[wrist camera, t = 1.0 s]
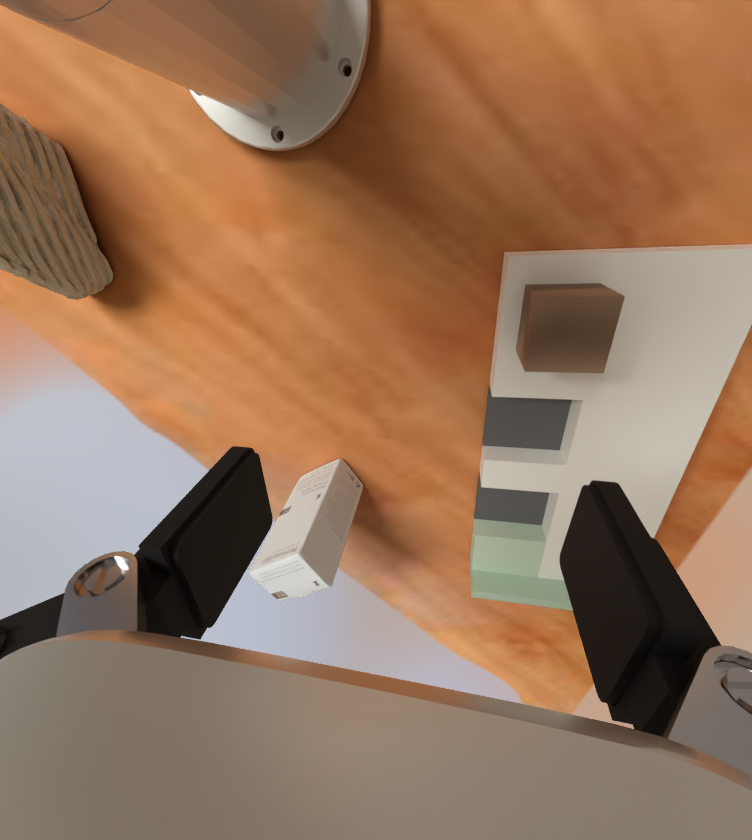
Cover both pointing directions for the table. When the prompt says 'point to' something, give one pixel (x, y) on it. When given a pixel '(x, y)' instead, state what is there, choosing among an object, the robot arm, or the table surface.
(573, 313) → the walnut block
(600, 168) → the table surface
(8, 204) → the fossil tooth
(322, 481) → the skincare box
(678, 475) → the board
